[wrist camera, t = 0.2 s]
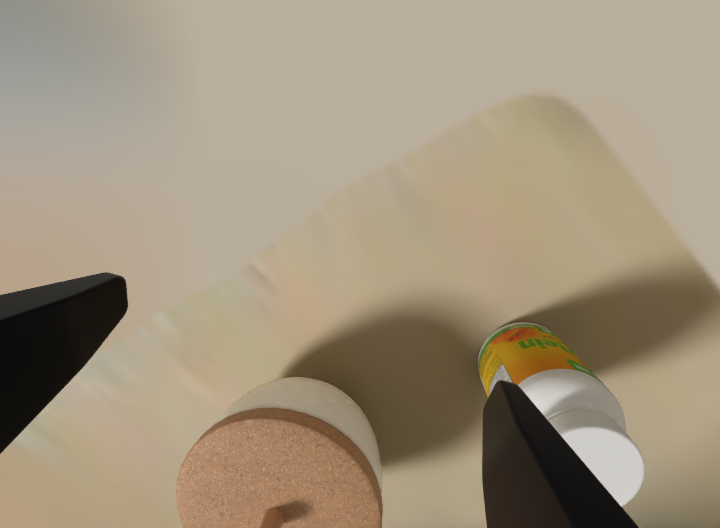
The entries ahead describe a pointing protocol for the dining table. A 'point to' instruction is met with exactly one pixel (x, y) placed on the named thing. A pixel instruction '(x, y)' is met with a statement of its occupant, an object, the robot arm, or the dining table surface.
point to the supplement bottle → (566, 401)
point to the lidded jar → (284, 463)
